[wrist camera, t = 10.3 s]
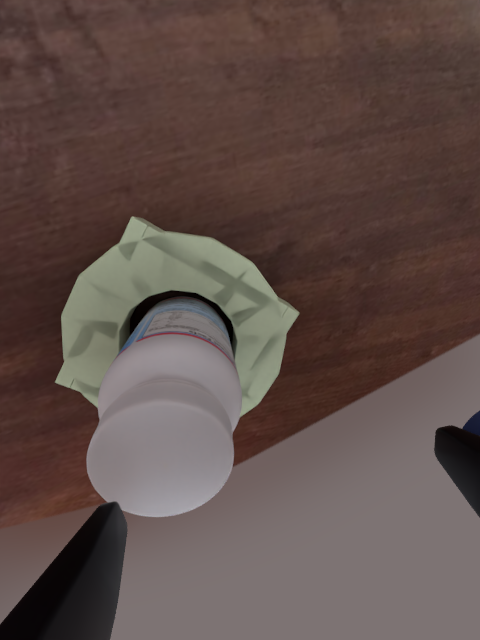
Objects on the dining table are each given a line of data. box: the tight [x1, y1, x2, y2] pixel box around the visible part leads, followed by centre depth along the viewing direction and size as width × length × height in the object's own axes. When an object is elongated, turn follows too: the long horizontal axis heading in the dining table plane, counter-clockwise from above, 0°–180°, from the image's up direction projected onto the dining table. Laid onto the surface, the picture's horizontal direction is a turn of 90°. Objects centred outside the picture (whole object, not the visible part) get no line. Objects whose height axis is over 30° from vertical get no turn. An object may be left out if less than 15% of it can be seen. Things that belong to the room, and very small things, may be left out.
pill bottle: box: [87, 296, 242, 517], centre depth 14 cm, size 6×6×11 cm
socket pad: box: [55, 217, 299, 417], centre depth 18 cm, size 13×13×2 cm
